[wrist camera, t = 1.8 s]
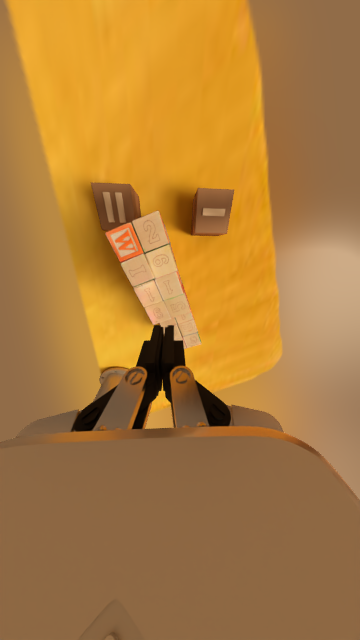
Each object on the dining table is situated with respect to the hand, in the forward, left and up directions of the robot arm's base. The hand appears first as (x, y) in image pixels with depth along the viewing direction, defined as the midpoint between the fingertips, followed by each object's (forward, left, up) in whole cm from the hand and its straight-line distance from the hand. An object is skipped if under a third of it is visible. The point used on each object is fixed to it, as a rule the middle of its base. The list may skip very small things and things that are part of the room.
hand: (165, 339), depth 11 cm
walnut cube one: (+11, -7, -20) cm, 24 cm away
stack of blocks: (-1, 0, -20) cm, 20 cm away
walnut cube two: (+12, +7, -20) cm, 24 cm away
